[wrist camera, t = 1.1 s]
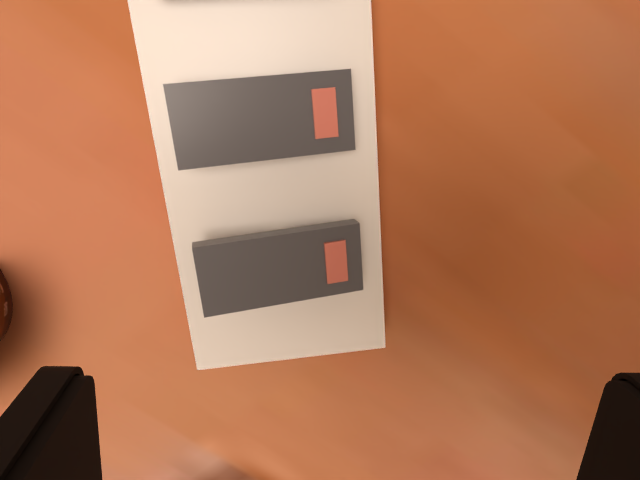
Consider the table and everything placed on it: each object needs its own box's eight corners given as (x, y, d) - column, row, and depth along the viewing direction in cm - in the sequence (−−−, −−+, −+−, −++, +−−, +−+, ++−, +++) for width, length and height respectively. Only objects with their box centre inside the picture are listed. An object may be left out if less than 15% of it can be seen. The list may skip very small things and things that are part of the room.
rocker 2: (354, 218, 27) (360, 224, 26) (358, 283, 28) (364, 290, 27) (192, 242, 25) (191, 249, 24) (204, 309, 27) (204, 318, 26)
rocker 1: (345, 69, 25) (351, 68, 23) (349, 147, 26) (356, 150, 25) (164, 84, 23) (162, 83, 22) (179, 167, 24) (178, 170, 23)
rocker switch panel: (350, -205, 24) (364, -258, 20) (376, 325, 34) (388, 355, 30) (107, -193, 23) (75, -245, 20) (204, 345, 33) (195, 378, 29)
